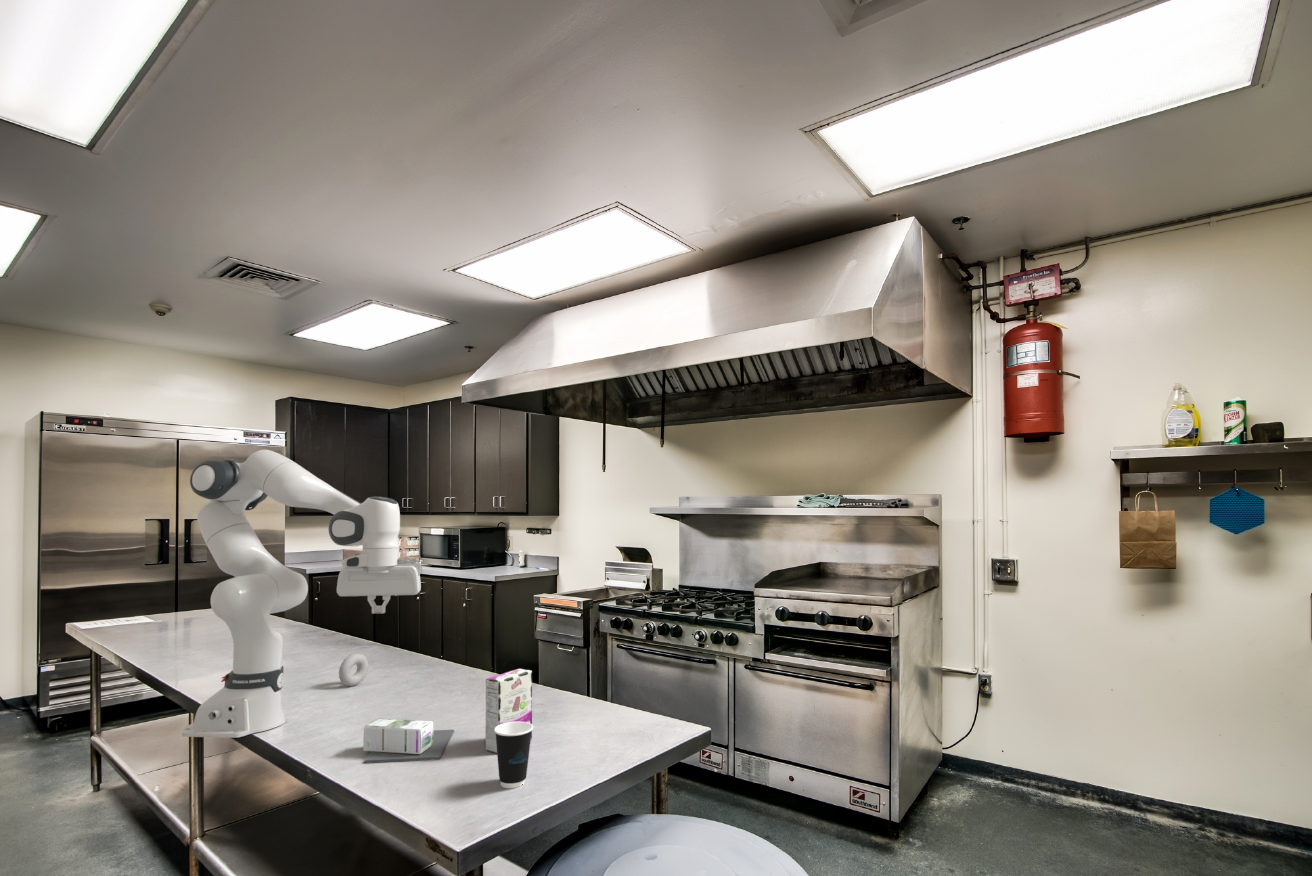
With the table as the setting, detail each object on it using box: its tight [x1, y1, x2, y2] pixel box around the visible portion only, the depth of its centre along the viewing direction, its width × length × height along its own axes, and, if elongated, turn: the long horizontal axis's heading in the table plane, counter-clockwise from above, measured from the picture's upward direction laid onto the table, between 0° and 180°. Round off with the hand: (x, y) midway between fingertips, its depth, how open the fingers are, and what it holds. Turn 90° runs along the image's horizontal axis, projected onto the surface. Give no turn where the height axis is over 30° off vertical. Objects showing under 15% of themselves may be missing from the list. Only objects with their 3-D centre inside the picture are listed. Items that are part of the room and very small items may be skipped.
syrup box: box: [362, 718, 434, 754], centre depth 150 cm, size 6×6×14 cm
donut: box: [338, 652, 369, 687], centre depth 206 cm, size 10×3×10 cm, turn 152°
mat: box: [364, 729, 455, 764], centre depth 153 cm, size 16×18×1 cm
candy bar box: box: [484, 668, 533, 754], centre depth 155 cm, size 11×5×16 cm, turn 148°
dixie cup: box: [494, 722, 534, 789], centre depth 133 cm, size 8×8×11 cm
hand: (378, 613), depth 168 cm, fingers closed
